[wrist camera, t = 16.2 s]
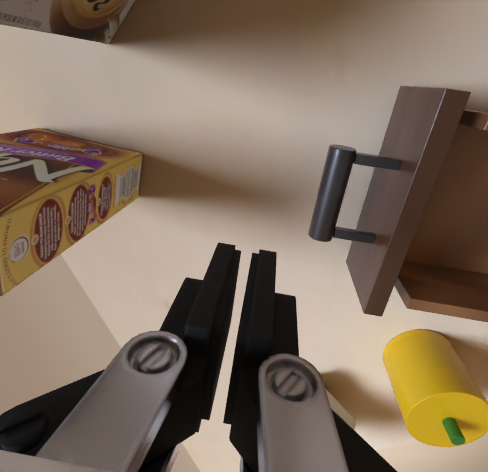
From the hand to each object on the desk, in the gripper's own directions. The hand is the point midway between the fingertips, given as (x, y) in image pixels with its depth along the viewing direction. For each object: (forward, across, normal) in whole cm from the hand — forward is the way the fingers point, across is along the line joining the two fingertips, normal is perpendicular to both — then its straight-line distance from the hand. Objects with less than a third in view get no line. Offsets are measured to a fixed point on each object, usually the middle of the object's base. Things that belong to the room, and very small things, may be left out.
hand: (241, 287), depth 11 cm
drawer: (+16, -14, 0) cm, 21 cm away
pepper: (+17, -18, +16) cm, 29 cm away
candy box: (+17, +14, +2) cm, 23 cm away
